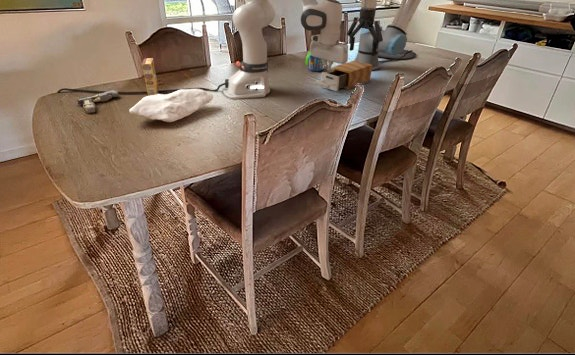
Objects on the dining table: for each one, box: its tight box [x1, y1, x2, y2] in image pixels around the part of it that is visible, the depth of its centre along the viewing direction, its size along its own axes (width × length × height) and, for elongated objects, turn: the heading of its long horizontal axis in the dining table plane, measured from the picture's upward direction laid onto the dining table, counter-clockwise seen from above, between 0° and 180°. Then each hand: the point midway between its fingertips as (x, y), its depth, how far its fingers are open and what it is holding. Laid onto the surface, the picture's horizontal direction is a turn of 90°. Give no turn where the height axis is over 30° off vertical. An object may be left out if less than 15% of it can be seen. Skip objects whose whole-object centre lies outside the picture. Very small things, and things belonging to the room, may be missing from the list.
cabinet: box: [332, 60, 373, 90], centre depth 190 cm, size 19×11×9 cm, turn 136°
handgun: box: [76, 89, 120, 114], centre depth 155 cm, size 3×18×15 cm
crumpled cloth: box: [129, 88, 214, 123], centre depth 147 cm, size 24×35×9 cm
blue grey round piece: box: [378, 48, 417, 60], centre depth 248 cm, size 35×35×9 cm
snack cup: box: [304, 49, 328, 72], centre depth 207 cm, size 16×10×10 cm
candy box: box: [141, 57, 160, 96], centre depth 163 cm, size 9×4×15 cm, turn 13°
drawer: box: [314, 70, 349, 92], centre depth 182 cm, size 24×10×7 cm, turn 136°
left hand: (327, 69), depth 173 cm, fingers closed
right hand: (362, 52), depth 189 cm, fingers open, 13 cm apart
